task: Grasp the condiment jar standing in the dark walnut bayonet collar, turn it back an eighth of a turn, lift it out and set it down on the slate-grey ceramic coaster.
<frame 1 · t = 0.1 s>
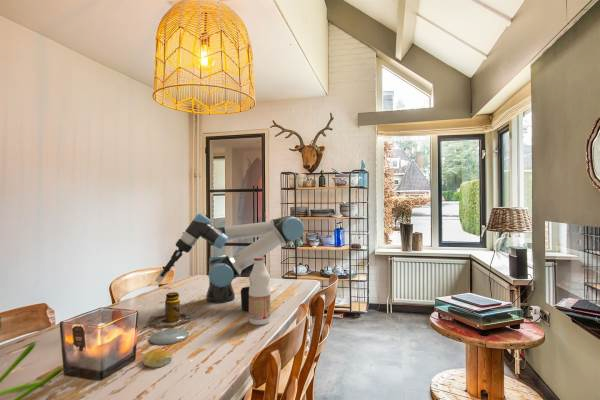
hand: (159, 279, 167), 15 cm above the table, tool tilted 35°, fingers open, 13 cm apart
fruit juice: (259, 322, 151), on the table
condiment: (170, 321, 153), resting in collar
pen holder: (250, 309, 169), on the table
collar: (170, 320, 153), on the table
mossy stone: (158, 363, 113), on the table
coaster: (169, 337, 134), on the table
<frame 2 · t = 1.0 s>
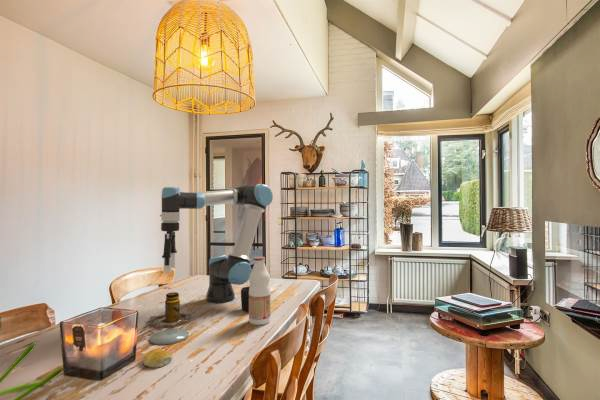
hand: (169, 270, 153), 22 cm above the table, tool pointing down, fingers open, 13 cm apart
nothing on the table moved.
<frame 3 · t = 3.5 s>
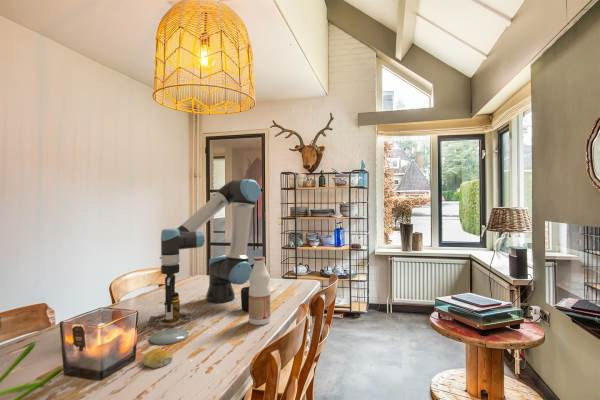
hand: (170, 316, 153), 2 cm above the table, tool pointing down, fingers closed on condiment, 6 cm apart
condiment: (170, 321, 152), resting in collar, touching gripper
everything else where it was.
when the fingers open (4 cm above the table, at t = 10.2 s): condiment drops 1 cm, resting on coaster.
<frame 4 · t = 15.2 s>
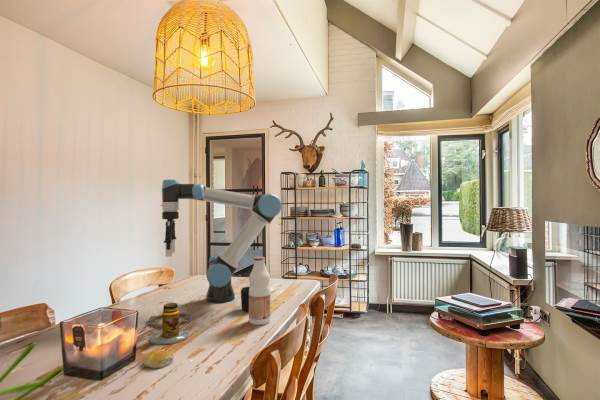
hand: (170, 254, 170), 27 cm above the table, tool pointing down, fingers open, 13 cm apart
condiment: (169, 336, 134), point 1 cm above the table, touching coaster
everything else where it was.
at the end: condiment 0.2 cm from the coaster (horizontally); condiment tilted 0°; the gripper is holding nothing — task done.
